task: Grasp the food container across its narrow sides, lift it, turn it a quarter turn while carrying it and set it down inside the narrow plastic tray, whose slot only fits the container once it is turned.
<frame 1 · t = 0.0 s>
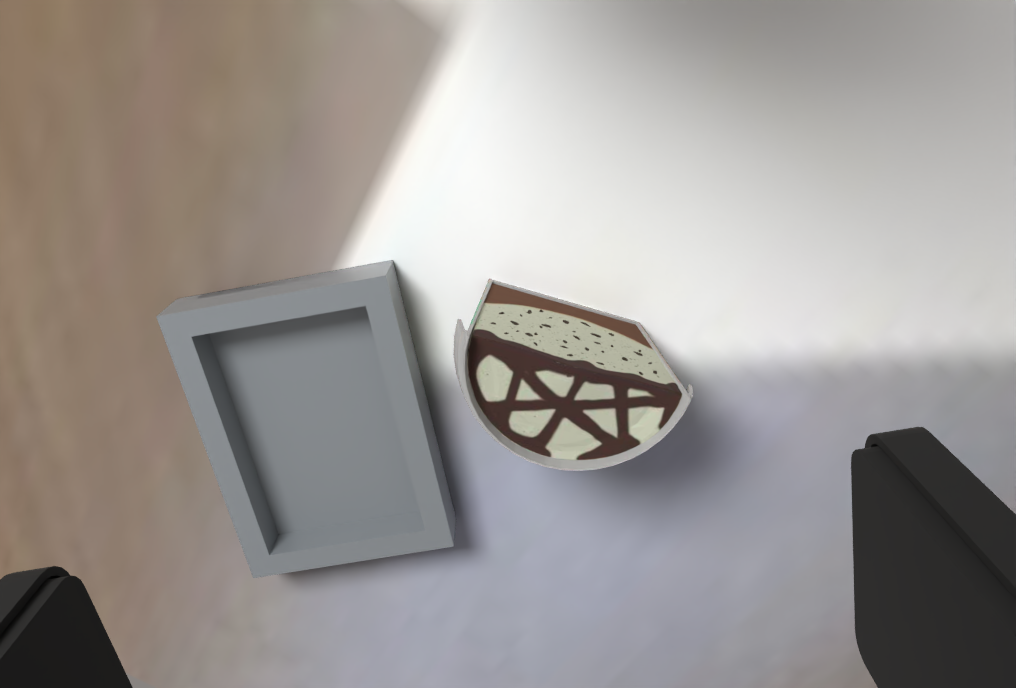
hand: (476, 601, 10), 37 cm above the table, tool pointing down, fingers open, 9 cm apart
food container: (548, 345, 48), on the table
tray: (324, 415, 50), on the table
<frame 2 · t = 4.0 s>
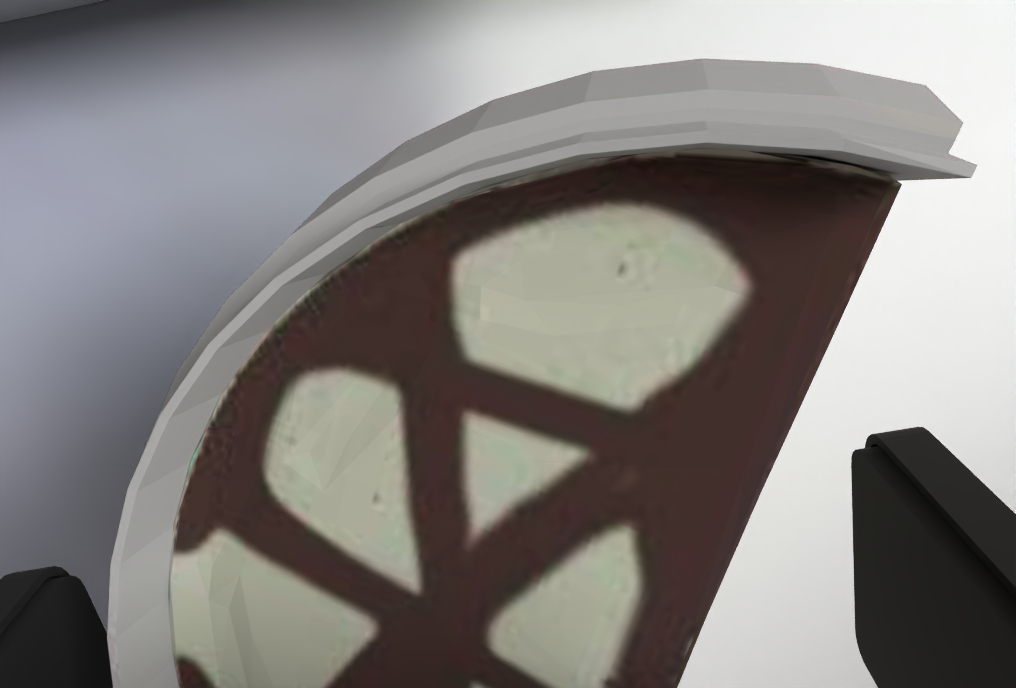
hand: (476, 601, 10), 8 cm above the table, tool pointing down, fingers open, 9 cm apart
food container: (538, 341, 17), on the table
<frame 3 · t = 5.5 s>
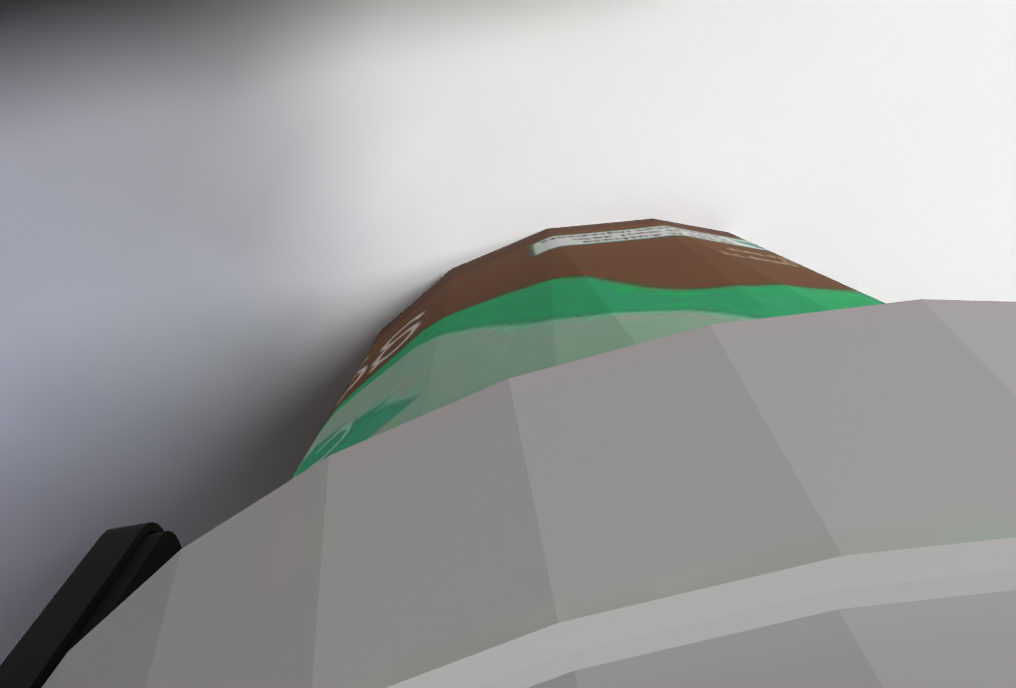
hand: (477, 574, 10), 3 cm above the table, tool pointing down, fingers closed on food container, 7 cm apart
food container: (449, 448, 13), on the table, touching gripper
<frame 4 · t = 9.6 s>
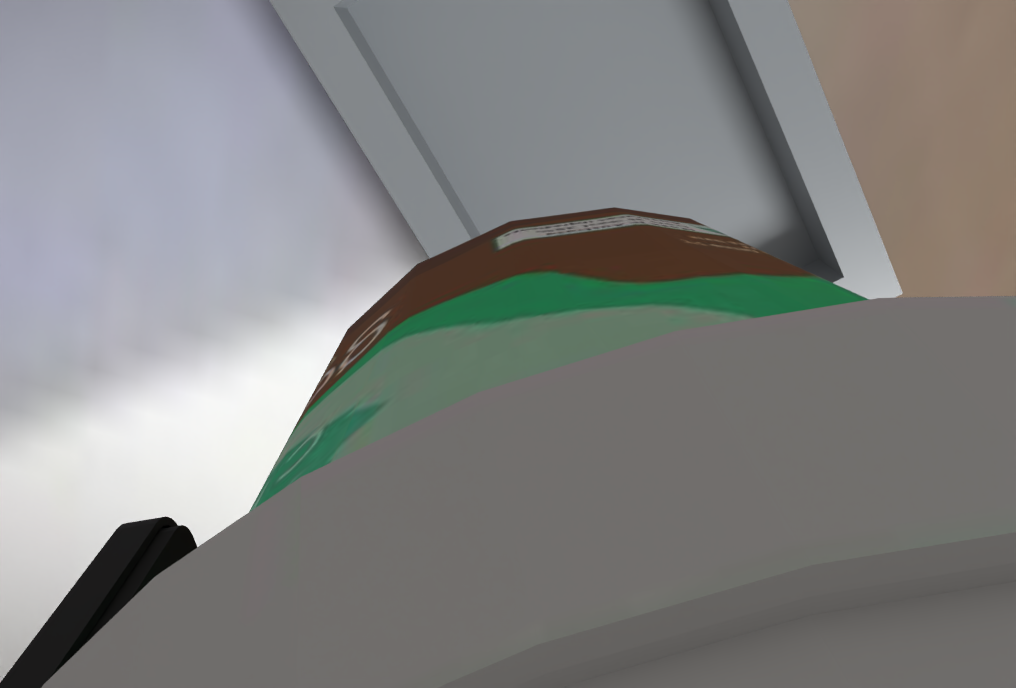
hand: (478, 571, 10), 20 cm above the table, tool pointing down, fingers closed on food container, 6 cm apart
food container: (421, 443, 13), point 16 cm above the table, touching gripper
tray: (594, 137, 27), on the table
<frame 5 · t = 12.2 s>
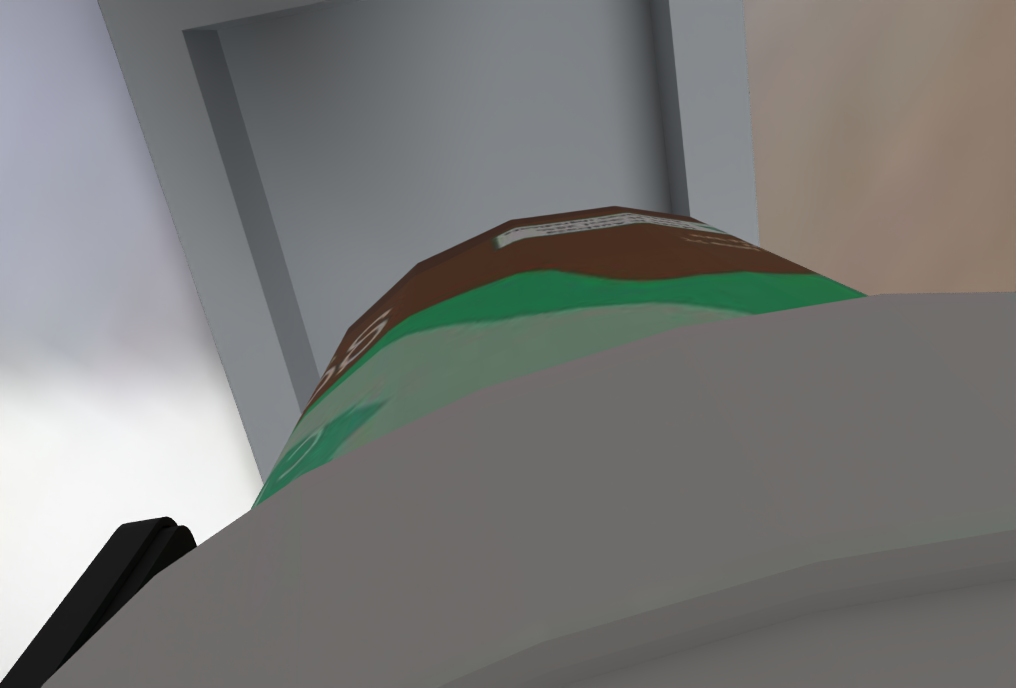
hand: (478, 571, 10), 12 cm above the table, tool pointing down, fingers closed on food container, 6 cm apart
food container: (422, 442, 13), point 9 cm above the table, touching gripper
tray: (489, 285, 22), on the table
when the fingers open (5 cm above the table, at t = 14.0 s): food container drops 1 cm, resting on tray.
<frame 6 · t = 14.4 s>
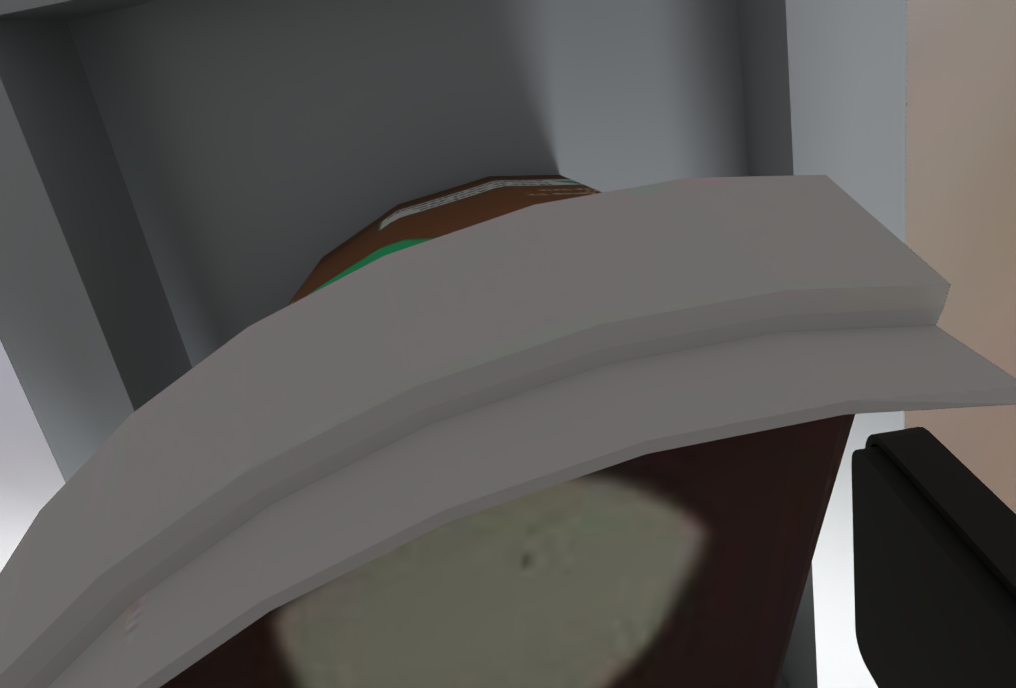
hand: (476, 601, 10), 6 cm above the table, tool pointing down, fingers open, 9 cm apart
food container: (362, 420, 14), point 1 cm above the table, touching gripper, tray
tray: (486, 385, 15), on the table
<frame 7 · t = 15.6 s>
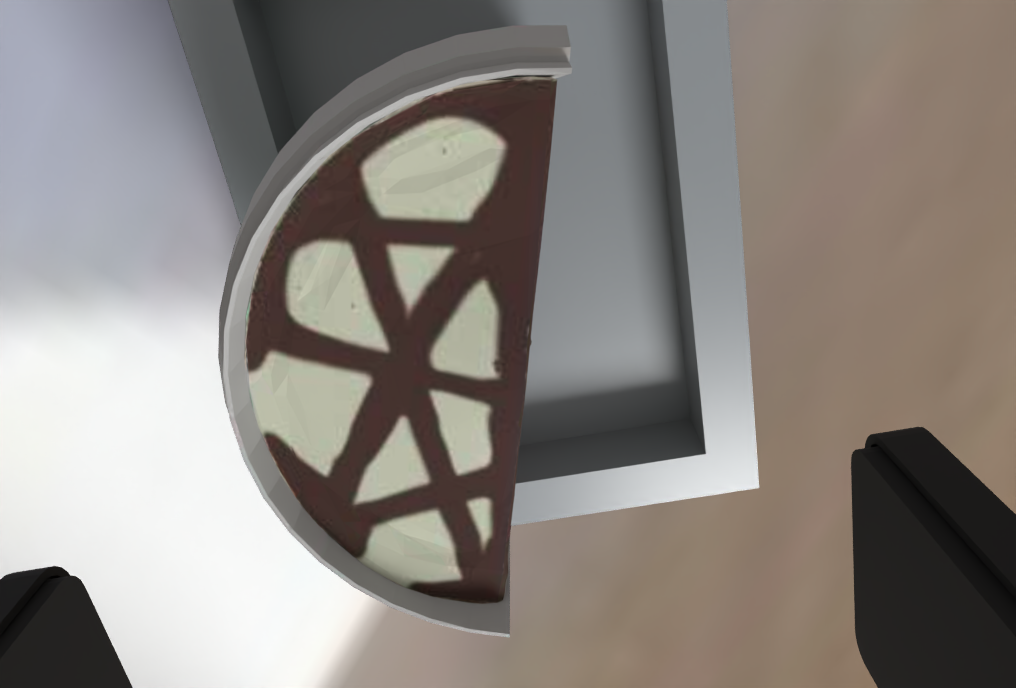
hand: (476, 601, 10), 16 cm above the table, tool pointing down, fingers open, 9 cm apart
food container: (419, 230, 24), point 1 cm above the table, touching tray
tray: (496, 216, 24), on the table
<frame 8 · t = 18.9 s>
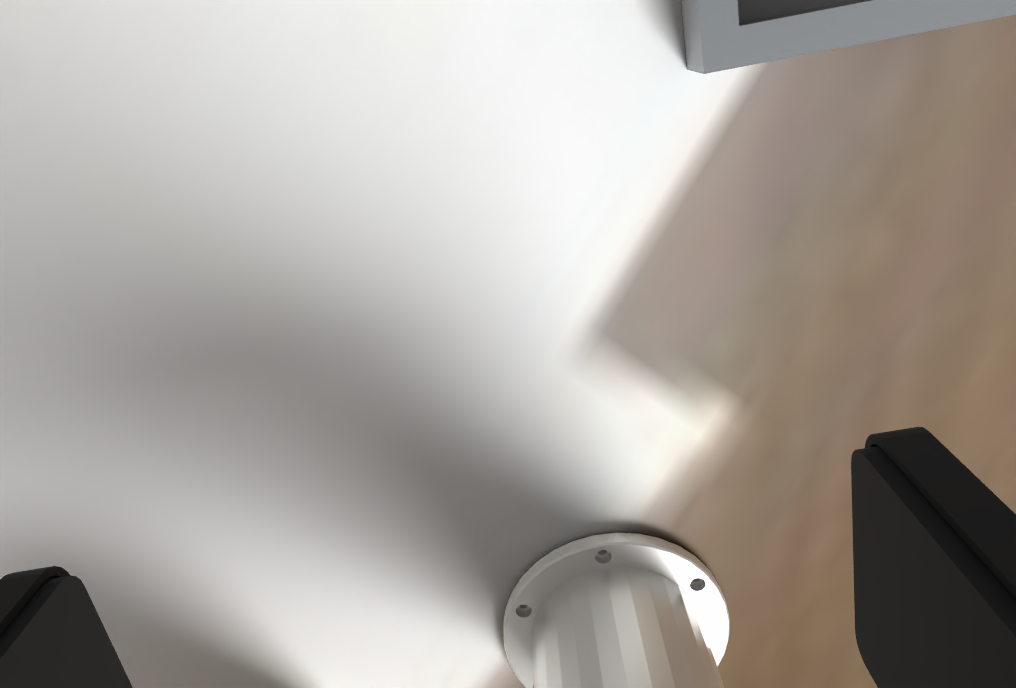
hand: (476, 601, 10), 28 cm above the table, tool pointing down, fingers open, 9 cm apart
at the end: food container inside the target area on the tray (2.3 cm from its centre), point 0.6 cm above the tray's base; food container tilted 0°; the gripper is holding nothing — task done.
